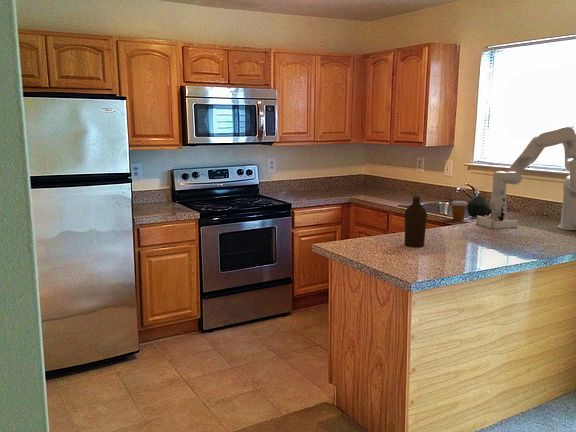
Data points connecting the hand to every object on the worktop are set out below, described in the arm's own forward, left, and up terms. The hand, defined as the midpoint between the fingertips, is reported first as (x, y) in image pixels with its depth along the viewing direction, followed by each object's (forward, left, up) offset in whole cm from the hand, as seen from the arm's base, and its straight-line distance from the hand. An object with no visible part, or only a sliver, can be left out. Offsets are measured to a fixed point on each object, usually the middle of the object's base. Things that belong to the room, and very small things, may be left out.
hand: (496, 221), depth 307 cm
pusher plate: (0, +4, -2) cm, 4 cm away
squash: (+30, -8, -3) cm, 31 cm away
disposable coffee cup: (+22, +12, -3) cm, 25 cm away
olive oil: (-38, +74, -3) cm, 83 cm away
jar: (0, 0, -2) cm, 2 cm away
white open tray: (0, 0, -2) cm, 2 cm away
